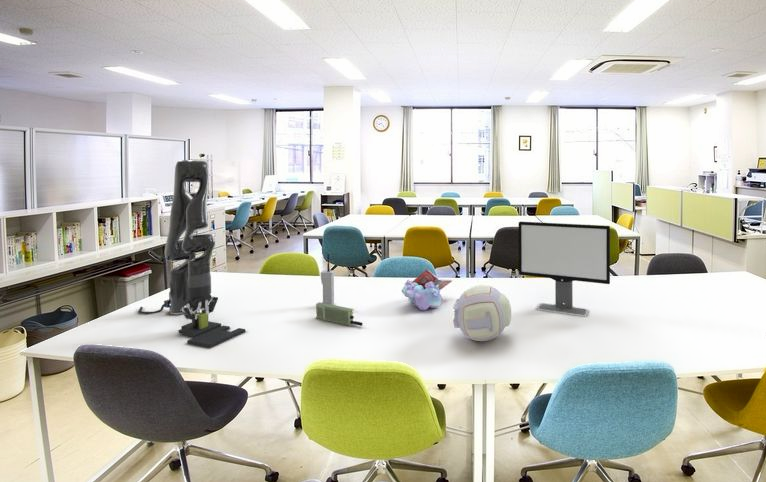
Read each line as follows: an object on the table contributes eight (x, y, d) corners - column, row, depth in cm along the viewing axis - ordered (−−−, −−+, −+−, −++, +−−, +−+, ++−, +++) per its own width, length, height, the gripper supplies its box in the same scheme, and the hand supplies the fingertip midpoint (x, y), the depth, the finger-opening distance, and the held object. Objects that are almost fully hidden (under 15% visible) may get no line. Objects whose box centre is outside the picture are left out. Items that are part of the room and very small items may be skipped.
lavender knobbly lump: (395, 303, 164) (416, 269, 164) (399, 286, 185) (417, 256, 186) (434, 324, 167) (454, 290, 167) (434, 305, 188) (452, 275, 189)
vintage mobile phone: (323, 304, 176) (322, 253, 176) (334, 304, 177) (333, 253, 176) (320, 307, 173) (320, 255, 172) (331, 307, 173) (331, 255, 173)
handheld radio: (321, 316, 163) (364, 325, 152) (315, 319, 160) (359, 329, 149) (320, 301, 162) (364, 309, 152) (314, 304, 159) (358, 313, 149)
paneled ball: (456, 326, 151) (455, 278, 151) (509, 326, 150) (509, 278, 150) (450, 351, 130) (450, 295, 130) (512, 351, 129) (512, 296, 129)
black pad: (199, 322, 155) (198, 307, 155) (221, 326, 151) (221, 311, 151) (173, 332, 146) (172, 316, 145) (196, 336, 142) (195, 320, 141)
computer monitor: (517, 307, 172) (517, 222, 171) (522, 301, 180) (522, 220, 179) (609, 320, 157) (609, 227, 156) (610, 312, 164) (610, 224, 164)
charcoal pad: (187, 343, 137) (187, 340, 137) (223, 328, 151) (223, 325, 151) (210, 348, 134) (210, 344, 134) (245, 331, 147) (245, 329, 147)
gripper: (210, 278, 155) (211, 318, 156) (173, 288, 142) (174, 332, 142) (223, 279, 153) (223, 320, 153) (187, 290, 140) (188, 335, 140)
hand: (200, 326), depth 148 cm, fingers closed on black pad, 2 cm apart
